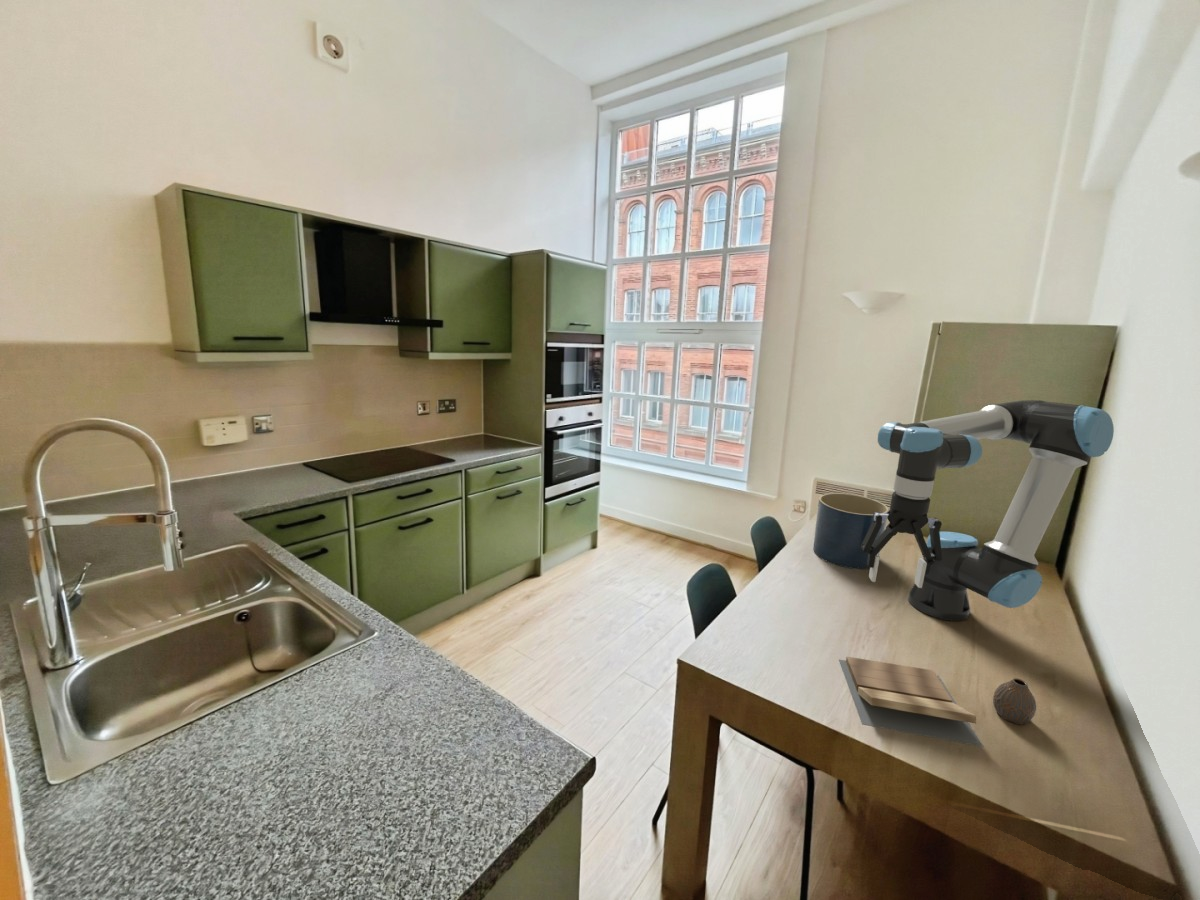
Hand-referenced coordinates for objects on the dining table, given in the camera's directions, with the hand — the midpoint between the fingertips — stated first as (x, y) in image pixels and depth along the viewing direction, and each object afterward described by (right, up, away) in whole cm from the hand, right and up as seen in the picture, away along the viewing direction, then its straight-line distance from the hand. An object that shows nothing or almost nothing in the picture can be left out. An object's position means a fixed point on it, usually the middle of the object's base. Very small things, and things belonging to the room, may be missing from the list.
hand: (894, 582), depth 119 cm
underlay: (-4, -23, -10) cm, 26 cm away
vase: (+16, -25, -14) cm, 33 cm away
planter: (+18, -7, +61) cm, 64 cm away
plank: (-5, -22, -15) cm, 28 cm away
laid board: (-3, -22, -5) cm, 23 cm away
